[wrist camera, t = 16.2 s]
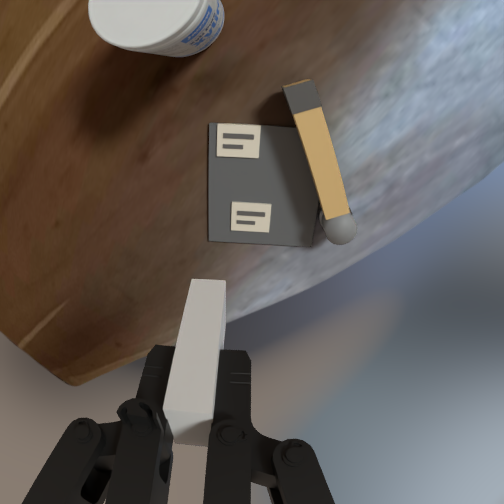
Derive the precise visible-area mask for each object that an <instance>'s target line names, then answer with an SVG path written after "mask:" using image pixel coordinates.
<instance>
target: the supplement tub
mask: <svg viewBox="0 0 504 504" xmlns="http://www.w3.org/2000/svg"><path fill="white" fill-rule="evenodd" d="M88 12H89V19H90V22H91V24H92V27H93V28H94V30H95V32H96V33H97V34H98V35H99V36H100V37H101V38H102V39H103V40H105V41H106V42H108V43H110V44H112V45H114V46H117V47H119V48H122V49H126V50H130V51H136V52H144V53H151V54H158V55H164V56H171V57H186V56H190V55H194V54H196V53H199V52H201V51H203V50H204V49H206V48H207V47H208V46H210V45H211V44H212V43H213V42H214V41H215V40H216V38H217V37H218V35H219V34H220V32H221V30H222V27H223V24H224V10H223V6H222V3H221V1H220V0H89V3H88Z"/></svg>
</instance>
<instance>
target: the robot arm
mask: <svg viewBox="0 0 504 504" xmlns="http://www.w3.org/2000/svg"><path fill="white" fill-rule="evenodd" d="M225 325H226V281H224V280H206V279H192V281H191V285H190V289H189V293H188V297H187V301H186V305H185V309H184V313H183V318H182V322H181V326H180V330H179V335H178V339H177V344H176V347H173V346H163V345H155V346H154V347H153V349H152V350H151V351H150V352H149V353H148V355H147V359H146V363H145V367H144V369H143V373H142V377H141V380H140V384H139V388H138V391H137V395H136V398H133V399H130V400H127V401H125V402H124V403H123V404H121V405H120V406H119V408H118V410H117V414H118V416H119V418H120V419H121V420H120V421H117V422H111V423H102V424H97V423H96V422H95V421H93V420H92V419H89V418H78V419H76V420H74V421H73V422H72V423H71V424H70V425H69V426H68V427H67V429H66V430H65V432H64V434H63V435H62V437H61V438H60V440H59V442H58V443H57V445H56V446H55V448H54V450H53V451H52V453H51V455H50V456H49V458H48V460H47V461H46V463H45V465H44V466H43V468H42V470H41V471H40V473H39V475H38V476H37V478H36V480H35V481H34V483H33V485H32V487H31V488H30V490H29V492H28V494H27V495H26V497H25V499H24V501H23V502H22V504H103V503H104V501H105V499H106V503H105V504H167V502H168V494H169V486H170V478H171V471H172V463H173V452H172V443H173V439H174V442H175V443H177V444H185V445H195V446H206V447H208V453H207V465H206V475H205V488H204V500H203V504H251V503H250V501H251V482H253V483H256V484H259V485H262V486H266V487H267V490H268V493H269V496H270V499H271V502H272V504H335V503H334V500H333V498H332V495H331V493H330V490H329V488H328V485H327V483H326V480H325V478H324V475H323V473H322V470H321V467H320V465H319V463H318V460H317V457H316V455H315V452H314V450H313V449H312V447H311V446H310V445H309V444H308V443H306V442H305V441H303V440H299V439H287V440H285V441H278V440H275V439H272V438H268V437H266V436H264V435H262V434H260V433H259V432H258V431H257V430H256V429H255V428H254V427H253V425H252V422H251V360H250V358H249V356H248V354H247V352H246V351H242V350H223V346H224V335H225Z"/></svg>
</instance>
